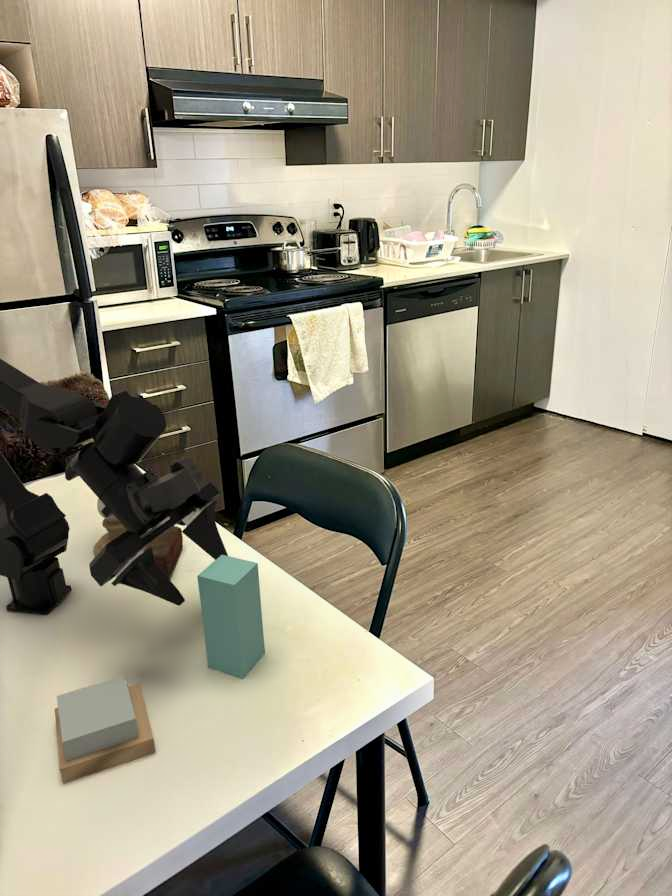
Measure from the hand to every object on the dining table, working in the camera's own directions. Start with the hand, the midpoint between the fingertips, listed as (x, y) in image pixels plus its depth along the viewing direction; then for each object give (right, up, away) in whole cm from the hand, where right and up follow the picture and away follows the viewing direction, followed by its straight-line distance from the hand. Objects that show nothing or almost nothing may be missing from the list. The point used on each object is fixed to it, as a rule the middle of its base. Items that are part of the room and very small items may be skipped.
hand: (205, 582), depth 80 cm
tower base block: (-9, -15, -8) cm, 20 cm away
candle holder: (-19, -1, +28) cm, 34 cm away
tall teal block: (+3, -10, +3) cm, 11 cm away
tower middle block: (-9, -13, -9) cm, 19 cm away
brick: (-11, -2, +24) cm, 27 cm away
